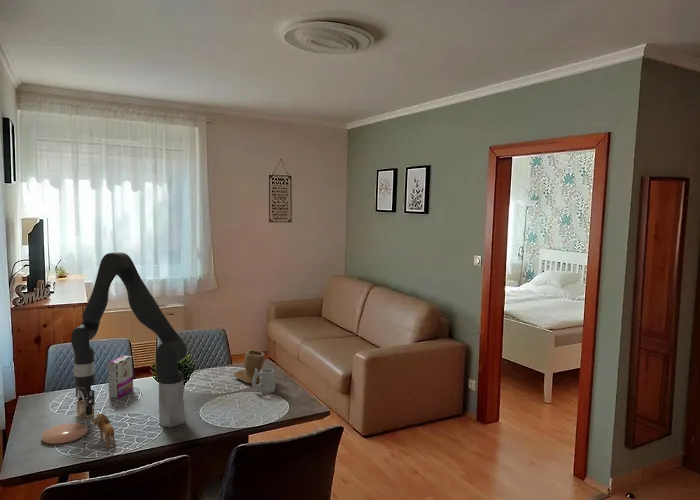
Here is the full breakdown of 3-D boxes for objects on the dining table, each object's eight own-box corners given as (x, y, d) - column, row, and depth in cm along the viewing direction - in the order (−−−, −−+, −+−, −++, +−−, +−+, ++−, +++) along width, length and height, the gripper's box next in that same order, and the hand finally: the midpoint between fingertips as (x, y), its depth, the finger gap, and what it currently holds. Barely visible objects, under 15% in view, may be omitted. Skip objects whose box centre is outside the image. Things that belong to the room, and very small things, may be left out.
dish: (93, 436, 188) (93, 432, 188) (48, 449, 177) (48, 445, 177) (79, 423, 198) (79, 419, 198) (36, 435, 187) (36, 431, 187)
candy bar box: (123, 389, 236) (123, 355, 234) (133, 390, 235) (132, 355, 233) (107, 397, 225) (107, 362, 224) (117, 398, 224) (117, 363, 223)
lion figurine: (90, 437, 187) (90, 414, 186) (105, 433, 191) (105, 410, 190) (109, 450, 177) (108, 426, 176) (124, 445, 181) (123, 421, 180)
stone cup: (269, 381, 250) (269, 352, 249) (247, 387, 242) (248, 356, 241) (253, 373, 262) (253, 345, 260) (232, 378, 254) (233, 349, 253)
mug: (278, 391, 238) (278, 366, 237) (256, 396, 230) (256, 371, 229) (270, 386, 244) (270, 362, 242) (248, 391, 236) (248, 367, 235)
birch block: (94, 415, 206) (94, 401, 205) (81, 419, 202) (80, 404, 202) (89, 412, 209) (89, 398, 209) (76, 415, 206) (76, 401, 205)
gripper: (101, 375, 202) (101, 414, 204) (88, 366, 212) (88, 404, 213) (80, 379, 197) (81, 419, 198) (68, 370, 207) (69, 408, 208)
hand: (85, 411), depth 206 cm, fingers open, 8 cm apart
